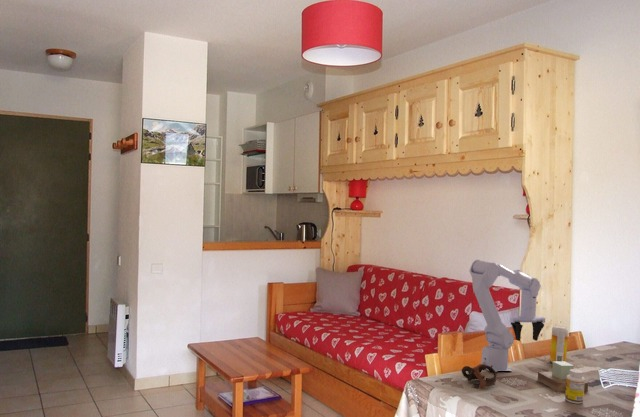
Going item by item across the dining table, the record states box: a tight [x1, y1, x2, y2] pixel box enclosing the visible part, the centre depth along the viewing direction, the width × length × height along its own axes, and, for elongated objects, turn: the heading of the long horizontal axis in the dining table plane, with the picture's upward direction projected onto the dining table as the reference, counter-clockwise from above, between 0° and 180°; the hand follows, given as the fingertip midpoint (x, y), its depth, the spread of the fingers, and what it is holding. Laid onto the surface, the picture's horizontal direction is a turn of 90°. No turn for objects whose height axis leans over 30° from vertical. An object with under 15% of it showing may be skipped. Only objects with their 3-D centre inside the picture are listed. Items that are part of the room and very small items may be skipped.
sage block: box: [551, 361, 575, 380], centre depth 201 cm, size 5×5×5 cm
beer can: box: [549, 325, 569, 364], centre depth 230 cm, size 6×6×15 cm
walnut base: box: [537, 371, 589, 392], centre depth 201 cm, size 12×12×3 cm
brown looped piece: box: [461, 363, 497, 390], centre depth 196 cm, size 12×10×8 cm
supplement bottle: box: [564, 368, 586, 405], centre depth 185 cm, size 6×6×10 cm
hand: (526, 340), depth 223 cm, fingers open, 7 cm apart
